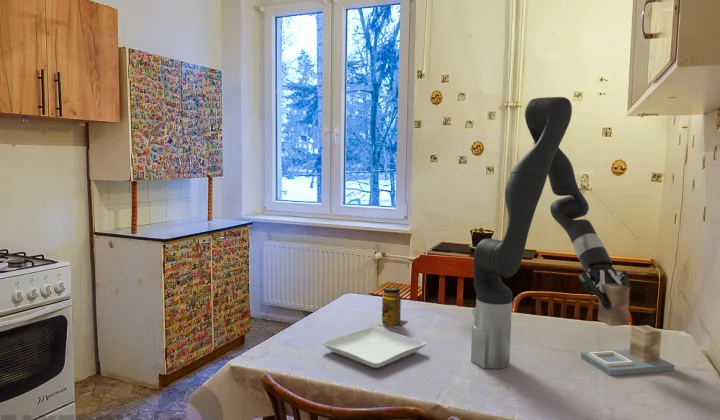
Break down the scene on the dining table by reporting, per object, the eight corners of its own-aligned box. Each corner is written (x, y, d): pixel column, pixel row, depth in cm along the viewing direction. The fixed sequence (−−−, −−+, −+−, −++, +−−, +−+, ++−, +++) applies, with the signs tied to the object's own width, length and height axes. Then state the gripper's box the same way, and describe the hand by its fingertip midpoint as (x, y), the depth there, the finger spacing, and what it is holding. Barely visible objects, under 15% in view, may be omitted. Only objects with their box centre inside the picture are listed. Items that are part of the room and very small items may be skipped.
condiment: (377, 325, 168) (377, 289, 166) (387, 318, 175) (388, 283, 174) (397, 328, 164) (398, 292, 163) (407, 321, 172) (408, 286, 170)
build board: (610, 375, 130) (610, 367, 130) (580, 357, 142) (581, 349, 142) (674, 370, 134) (674, 362, 134) (640, 353, 146) (641, 345, 145)
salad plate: (320, 353, 143) (320, 341, 143) (372, 335, 158) (372, 324, 158) (376, 376, 129) (376, 363, 128) (427, 354, 144) (427, 342, 143)
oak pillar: (643, 361, 136) (645, 332, 135) (629, 354, 141) (631, 326, 140) (659, 360, 137) (661, 331, 136) (645, 353, 142) (647, 325, 141)
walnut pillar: (610, 325, 133) (612, 288, 132) (597, 319, 138) (600, 283, 137) (627, 324, 134) (629, 287, 133) (614, 319, 139) (616, 282, 138)
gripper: (575, 246, 140) (601, 301, 129) (621, 245, 143) (650, 299, 132) (562, 261, 146) (586, 315, 135) (607, 260, 148) (634, 313, 138)
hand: (618, 307), depth 134 cm, fingers closed on walnut pillar, 5 cm apart
